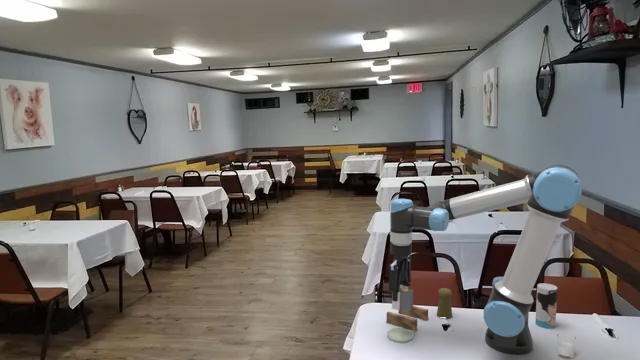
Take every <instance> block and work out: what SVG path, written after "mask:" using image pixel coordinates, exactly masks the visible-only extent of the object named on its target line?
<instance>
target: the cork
mask: <svg viewBox="0 0 640 360" xmlns="http://www.w3.org/2000/svg"><path fill="white" fill-rule="evenodd" d="M437 294H438V297H439V299H438V304H437V309H436V310H437V312H436V317H438V318H440V317H446V318H447V319H446V320H449V319H452V318H453V310H452V301H451V298H452V295H453V292H452V290H451V289H449V288H448V287H447V288H446V287H441V288H439V290H438V293H437Z"/></svg>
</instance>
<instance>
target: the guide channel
mask: <svg viewBox="0 0 640 360" xmlns="http://www.w3.org/2000/svg"><path fill="white" fill-rule="evenodd" d="M418 319H419V320H423V321H428V320H429V309H427V308H423V307H420V306H415V305H413V307H412V309H411V311H404V310H398V313H395V312H391V311H387V312H386V324H389V325H393V326H396V327H398V328H403V329H407V330H409V331H414V332H416V331H417V330H418Z"/></svg>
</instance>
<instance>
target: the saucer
mask: <svg viewBox="0 0 640 360" xmlns="http://www.w3.org/2000/svg"><path fill="white" fill-rule="evenodd" d="M386 333H387V334H386V335H387V338H388V339H389V340H390V341H392V342H394V343H400V344H401V343H402V344H403V343H409V342H411V341H412V340H413V336H414V335H413V332H412V330H410V329H406V328H403V327H395V328H390V329H388V330H387V332H386Z"/></svg>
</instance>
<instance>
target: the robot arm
mask: <svg viewBox="0 0 640 360" xmlns="http://www.w3.org/2000/svg"><path fill="white" fill-rule="evenodd" d="M582 193H583V186H582V181H581V179H580V176H579V174H578V173H577V172H576V171H575V170H574V169H572V168H571V167H569V166H567V165H563V164H561V165H560V164H554V165H551V166H548V167H546V168H544V169H541V170H539V171H535V172H532V173H530V174H526V176H525V177H524V178H522V179H520V180H516V181H512V182H509V183H503V184H500V185H497V186H493V187H488V188H486V189H482V190H478V191H474V192H471V193H467V194H462V195H459V196H456V197H452V198H449V199H444V200H443V199H442V200H437V201H435V202H433V203H432V204H431V205H429V206H425V207H424V206H417V205H414V204H413V201H412V200H411V199H410V198H409V199H407V198H394V199H393V200H392V201H391V204H390V212H389V214H390V218H389V219H390V223H389V224H390V232H389V235H390V237H389V238H390V240H389V241H390V243H389V253H390V254H391V255H392V256H393V259H392V263H389V264H388V269H389V270H388V271H389V273H388V274H389V275H388V277H389V278H388V291H389V292H391V296H392V297H391V309H392V310H395V311H399V310H400V292H399V288H404V287H405V288H408V289H409V287H411V282H412V256H411V255H412V254H413V253H412V251H413V250H412V249H413V248H412V247H413V244H412V243H413V229H416V230H417V229H419V230H425V231H426V230H427V231H433V232H445V231H447V229H448V227H449V222H450V221H454V220H457V219H461V218H462V219H463V218H466V217H470V216H475V215H480V214H483V213H487V212H492V211H495V210H499V209H500V210H501V209H504V208H505V209H506V208H508V207H513V206H517V205H521V204H522V205H523V204H525V203H526V206H527V208H528V211H529V213H528V215H527V218H526V221H525V223H524V226H523V229H522V231H521V234H520V236H519V238H518V240H517V243H516V245H515V247H514V251H513V253H512V256H511V257H510V261H509V263H508V266H507V268H506V270H505V272H504V275H503V276H496V277H494V278H493V280H492V283H491V286H492V289H491V290H492V291H491V293H490V295H489V299H488V301H487V303H486V305H485V306H484V309H483V320H484V324H485V325H486V326H487V328H486V331H485V335H484V336H485V337H484V338H485V343H486V344H487V345H488V346H489V347H491V348H492V349H494V350H496V351H499V352H502V353H504V354H511V355H524V354H528V353H530V352H532V351H533V349H534V348H533V347H534V340H533V337H532V333H531V329H530V327H529V313H530V310H531V309H532V306H533V303H534V301H535V300H534V297H533V296H532V292H533V289H534V286H535V284H536V283H537V279H538V277H539V275H540V272H541V270H542V268H543V266H544V263H545V260H546V258H547V256H548V254H549V252H550V249H551V247H552V245H553V242H554V239H555V238H556V235H557V233H558V230H559V228H560V226H561V224H562V223H564V222H567V221H569V220H570V218H571V216H572V213H573V211H574V209H575V206H576V205H577V204H578V202H579V201H580V199H581V197H582V195H583V194H582Z"/></svg>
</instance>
